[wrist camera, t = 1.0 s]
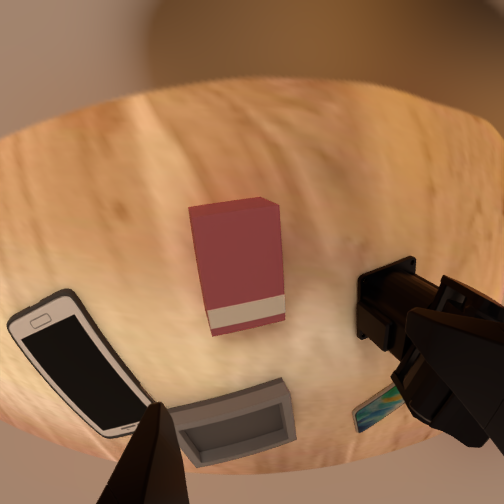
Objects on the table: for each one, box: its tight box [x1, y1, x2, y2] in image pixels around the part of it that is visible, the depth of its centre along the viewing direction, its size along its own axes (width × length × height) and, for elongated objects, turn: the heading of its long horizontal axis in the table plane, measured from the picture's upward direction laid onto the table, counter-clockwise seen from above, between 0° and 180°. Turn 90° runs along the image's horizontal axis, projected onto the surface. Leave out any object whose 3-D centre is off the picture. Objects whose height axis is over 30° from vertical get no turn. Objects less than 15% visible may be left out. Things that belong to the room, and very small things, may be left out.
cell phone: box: [7, 289, 155, 439], centre depth 18 cm, size 8×15×1 cm, turn 20°
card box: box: [188, 197, 286, 337], centre depth 17 cm, size 7×4×4 cm, turn 6°
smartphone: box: [352, 382, 405, 433], centre depth 30 cm, size 7×1×15 cm
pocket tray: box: [167, 377, 297, 468], centre depth 22 cm, size 11×8×2 cm
